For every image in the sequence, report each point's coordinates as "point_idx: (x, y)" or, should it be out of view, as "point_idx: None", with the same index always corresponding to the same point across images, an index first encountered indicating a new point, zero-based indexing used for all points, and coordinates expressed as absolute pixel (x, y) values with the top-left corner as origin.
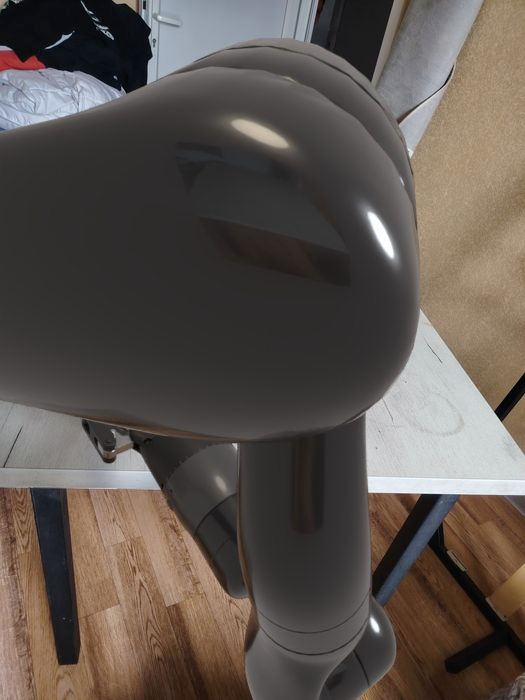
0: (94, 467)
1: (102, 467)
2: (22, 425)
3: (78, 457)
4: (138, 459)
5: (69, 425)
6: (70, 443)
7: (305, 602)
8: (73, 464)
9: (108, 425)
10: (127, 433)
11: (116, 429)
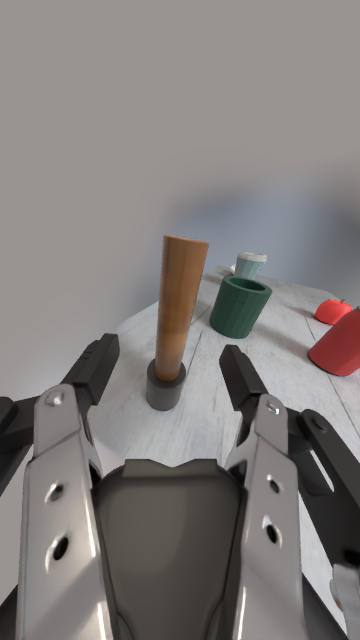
0: (105, 443)
1: (112, 448)
2: None
3: (103, 418)
4: (153, 459)
5: (123, 376)
6: (110, 396)
7: None
8: (92, 426)
9: (147, 394)
10: (160, 410)
11: (151, 402)
